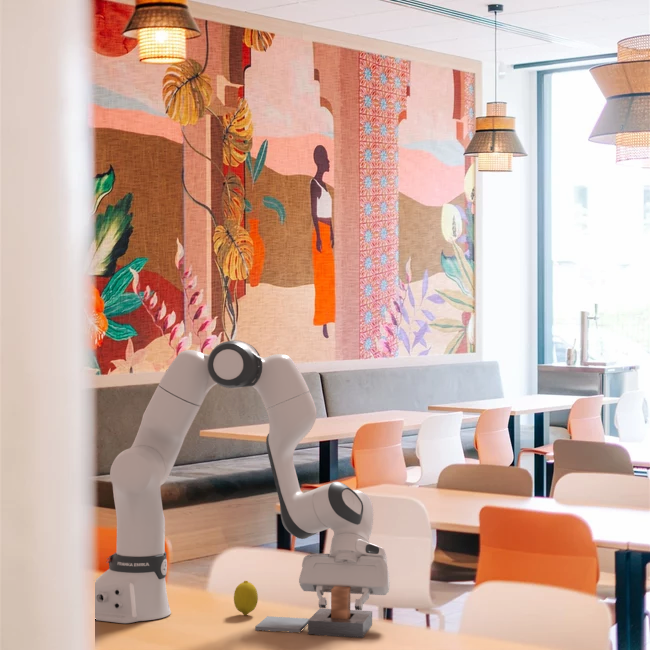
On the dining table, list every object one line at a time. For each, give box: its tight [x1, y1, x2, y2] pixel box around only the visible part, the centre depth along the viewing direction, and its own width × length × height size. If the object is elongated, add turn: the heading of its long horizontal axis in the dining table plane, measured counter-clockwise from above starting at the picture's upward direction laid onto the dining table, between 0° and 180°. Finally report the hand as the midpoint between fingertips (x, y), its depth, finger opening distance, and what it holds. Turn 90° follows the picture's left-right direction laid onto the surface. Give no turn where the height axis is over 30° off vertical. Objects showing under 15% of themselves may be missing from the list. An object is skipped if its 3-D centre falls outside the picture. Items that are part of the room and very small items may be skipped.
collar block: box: [307, 608, 373, 639], centre depth 233 cm, size 12×12×3 cm
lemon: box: [233, 580, 259, 616], centre depth 246 cm, size 6×6×8 cm
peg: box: [330, 586, 351, 619], centre depth 233 cm, size 4×4×9 cm
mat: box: [254, 615, 310, 633], centre depth 236 cm, size 10×10×1 cm
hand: (340, 607), depth 233 cm, fingers open, 7 cm apart
